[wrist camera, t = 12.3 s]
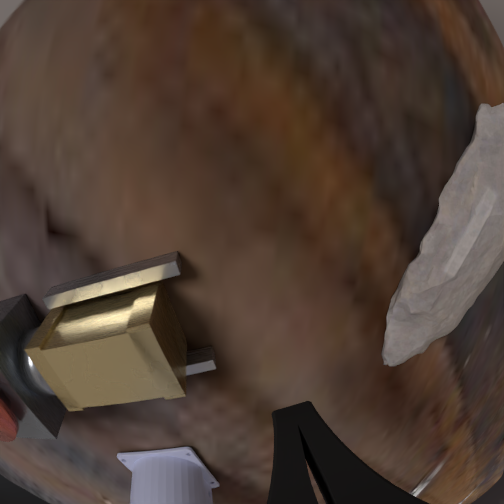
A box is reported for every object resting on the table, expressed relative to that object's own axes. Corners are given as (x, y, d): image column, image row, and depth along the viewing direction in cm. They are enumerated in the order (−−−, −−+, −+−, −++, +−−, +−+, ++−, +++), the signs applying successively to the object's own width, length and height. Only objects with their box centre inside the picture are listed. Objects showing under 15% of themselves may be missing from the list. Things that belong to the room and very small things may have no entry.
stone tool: (568, 157, 15) (433, 397, 20) (530, 147, 19) (404, 362, 24) (523, 52, 11) (346, 368, 16) (477, 56, 15) (316, 321, 21)
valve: (215, 355, 20) (224, 441, 14) (1, 387, 19) (-27, 443, 12) (177, 249, 17) (164, 321, 11) (-45, 316, 16) (-88, 365, 9)
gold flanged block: (187, 341, 20) (185, 396, 15) (87, 361, 19) (69, 411, 15) (160, 276, 18) (148, 323, 13) (54, 304, 17) (24, 349, 13)
